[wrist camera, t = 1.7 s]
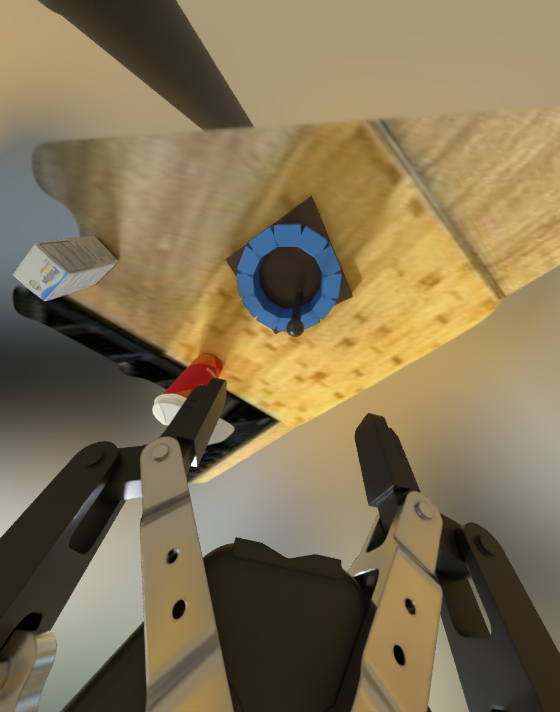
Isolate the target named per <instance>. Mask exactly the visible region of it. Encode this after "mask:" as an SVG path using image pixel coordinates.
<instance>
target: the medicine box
mask: <svg viewBox="0 0 560 712" xmlns="http://www.w3.org/2000/svg"><path fill="white" fill-rule="evenodd" d="M116 263H118V260H117V259H116V258H115V257H114V256H113V255H112V254H111V253H110V252H109V251H108V249H107V248H106V247H105V246H104V245H103V244H102V243H101V242H100V241H99V240H98V239H97V238H96V236H87V237H78V238H68V239H60V240H51V241H42V242H35V243H34V245H33V246H32V247H31V249H30V251H29V252H28V253H27V255H26V256H25V258H24V259H23V260H22V262H21V263H20V265H19V266H18V268H17V269H16V270H15V272H14V273H13V275H14V276H15V277H16V278H17V279H18V280H19V281H20V282H21V283H22V284H24V285H25V286H26V287H27V288H28V289H29V290H31V291H32V292H33V293H34V294H36V295H37V296H38V297H40V298H41V299H42V300H44V301H47V300H51V299H54V298H57V297H60V296H63V295H66V294H69V293H72V292H75V291H78V290H82V289H85V288H88V287H90V286H93V285H95V284H96V283H97V282H98V281H99V280H100V279H101V278H102V277H103V276H104V275H105V274H106V273H107V272H108V271H109V270H110V269H111V268H112V267H113V266H114V265H115V264H116Z"/></svg>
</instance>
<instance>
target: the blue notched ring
mask: <svg viewBox="0 0 560 712" xmlns="http://www.w3.org/2000/svg"><path fill="white" fill-rule="evenodd" d="M276 247H299V248H301V249H302V250H304V251H305V252H307V253H308V254H310V255H311V256H313V257H315V259H316V261H317V263H318V265H319V267H320V270H321V272H322V276H321V287H320V289H319V290H318V292H317V293H316V295H315V296H314V298H313V299H312V301H311V302H309V303H307V304H305V305H303V306H302V318H301V321H302V322H303V324H304V330H305V329H307V328H309V327H311V326H313V325H315V324H318V323H320V318H321V319H322V320H323V319H324V318H325V317H326V315H327V314H328V313H329V311H330V310H331V309H332V307H333V306H334V305H335V303H336V299H335V298H338V297H339V290H340V283H341V276H342V274H341V272H340V270H341V268H340V265H339V263H338V260H337V258H336V255H335V253H334V251H333V248H332V246H331V244H330V243H329V242H328V241H327V239H326V238H325V237H323V236H322V235H320V234H319V233H318V232H316V231H315V230H313V229H312V228H310V227H309V226H307V225H306V226H305V228H304V230H303V232H302V224H277V225H274V226H271V227H268V228H267V229H266V230H264V231H263V232H262V233H260V234H259V235H258V236H256V237H255V238H254V239H252V240H251V241H250V242H249V245H247V246H246V247H245V249H244V252H243V254H242V257H241V260H240V262H239V265H238V267H237V270H239V272H238V273H237V282H238V289H239V296H240V297H243V298H242V300H241V301H242V302H243V304H244V305H245V307H246V308H247V309H248V311H249V312H250V314H251V315H252V317H253V318H254V317H256V316H258V315H259V316H258V318H257V319H256V320H257V321H258V322H260V323H262V324H264V325H266V326H267V327H269V328H271V329H273V330H275V328H276V326H277V331H287V330H286V326H287V323H288V322H289V321H290V320H291V318H292V313H293V308H281V307H279V306H278V305H276V304H274V303H273V302H271V301H269V300H268V298H267V297H266V295H265V294H264V292H263V290H262V289H261V287H260V278H259V268H260V266H261V264H262V262H263V259H264V257H265V255H266V254H268V253H269V252H270V251H272V250H273V249H275V248H276Z"/></svg>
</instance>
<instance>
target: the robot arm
mask: <svg viewBox="0 0 560 712" xmlns="http://www.w3.org/2000/svg"><path fill="white" fill-rule="evenodd" d="M226 384H227V381H226V380H223V379H218V378H214V377H212V378H211V380H210V382H209V383H208V385H207V386H205V385H199V386H198V387H196V388H195V389H193V390H192V391H191V393H190V394H189V396H188V397H187V399H186V400H185V402H184V403H183V405H182V407H181V408H180V409H179V411H178V412H177V414H176V415H175V417H174V418H173V420H172V421H171V423H170V424H169V426H168V427H167V429H166V430H165V432H164V433H163V434H162V435H161V436H160V437H159V438H157V439H155V440H153V441H152V442H150V443H149V444H147V445H143V446H137V447H127V448H117V447H116V445H115V444H113V443H111V442H106V441H103V442H97V443H94V444H91V445H89V446H87V447H85V448H84V449H82V450H81V451H79V452H78V453H77V454H76V455H75V456H74V457H73V458H72V459H71V460H70V462H69V463H68V464H67V465H66V466H65V467H64V468H63V469H62V470H61V472H60V473H59V474H58V475H57V476H56V477H55V478H54V479H53V480H52V481H51V483H50V484H49V485H48V486H47V487H46V488H45V489H44V490H43V491H42V493H41V494H40V495H39V496H38V497H37V498H36V499H35V500H34V501H33V503H32V504H31V505H30V506H29V507H28V508H27V509H26V510H25V511H24V513H23V514H22V515H21V516H20V517H19V518H18V519H17V521H15V522H14V524H13V525H12V526H11V527H10V528H9V529H8V530H7V531H6V533H5V534H4V535H3V536H2V537H1V538H0V712H38V707H39V701H40V696H41V692H42V690H43V687H44V684H45V682H46V679H47V677H48V675H49V673H50V670H51V668H52V666H53V663H54V659H55V655H56V647H57V644H56V639H55V636H54V635H53V633H51V632H50V630H51V628H52V627H53V625H54V623H55V622H56V620H57V618H58V616H59V615H60V613H61V611H62V609H63V608H64V606H65V604H66V603H67V601H68V599H69V598H70V596H71V594H72V592H73V591H74V589H75V587H76V586H77V584H78V582H79V580H80V579H81V577H82V575H83V574H84V572H85V570H86V569H87V567H88V565H89V563H90V562H91V560H92V558H93V556H94V555H95V553H96V551H97V549H98V548H99V546H100V544H101V543H102V541H103V539H104V538H105V536H106V534H107V533H108V531H109V529H110V527H111V526H112V524H113V522H114V521H115V519H116V517H117V515H118V513H119V512H120V510H121V508H122V507H123V505H124V503H125V502H126V500H127V499H132V498H138V497H142V505H143V515H142V518H141V521H140V541H141V542H140V543H141V566H142V590H143V613H144V621H143V622H142V624H141V625H140V626H139V627H138V628H137V629H136V630H135V631H134V632H133V633H132V635H130V637H129V638H128V639H127V640H126V641H125V642H124V643H123V644H122V645H121V646H120V647H119V648H118V650H117V651H116V652H115V653H114V654H113V655H112V656H111V657H110V658H109V660H107V661H106V663H105V664H104V665H103V666H102V667H101V668H100V669H99V670H98V671H97V672H96V673H95V674H94V675H93V677H92V678H91V679H90V680H89V681H88V682H87V683H86V684H85V685H84V687H82V689H81V690H80V691H79V692H78V693H77V694H76V695H75V696H74V697H73V698H72V699H71V701H70V702H69V703H68V704H67V705H66V706H65V707H64V708H63V709H62V710H61V711H60V712H431V710H430V708H429V706H428V701H429V694H430V685H431V679H432V671H433V663H434V657H435V649H436V642H437V634H438V627H439V619H440V614H441V618H442V621H443V625H444V628H445V631H446V635H447V638H448V641H449V645H450V648H451V652H452V655H453V658H454V662H455V665H456V669H457V672H458V675H459V679H460V682H461V685H462V689H463V691H464V695H465V699H466V702H467V706H468V709H469V712H560V653H559V652H558V650H557V648H556V646H555V644H554V642H553V641H552V639H551V637H550V635H549V633H548V631H547V630H546V628H545V626H544V624H543V622H542V620H541V619H540V617H539V615H538V613H537V611H536V609H535V607H534V606H533V604H532V602H531V600H530V598H529V596H528V595H527V593H526V591H525V589H524V587H523V585H522V584H521V582H520V580H519V578H518V576H517V574H516V573H515V571H514V569H513V567H512V565H511V564H510V562H509V560H508V558H507V556H506V554H505V552H504V551H503V549H502V547H501V546H500V544H499V543H498V542H497V540H496V539H495V538H494V537H493V536H492V535H491V534H490V533H489V532H488V531H487V530H486V529H484V528H483V527H481V526H480V525H478V524H475V523H467V524H465V525H460V524H458V523H456V522H455V521H453V520H451V519H450V518H448V517H446V516H444V515H442V514H441V513H439V511H438V509H437V507H436V506H435V505H434V503H433V502H432V501H431V500H430V499H429V498H428V497H426V496H425V495H423V494H422V493H421V492H420V490H419V487H418V484H417V482H416V480H415V477H414V475H413V472H412V470H411V467H410V465H409V462H408V460H407V458H406V455H405V452H404V450H403V449H402V445H401V442H400V440H399V438H398V436H397V435H396V434H395V432H394V431H393V430H392V428H388V426H387V423H386V420H385V418H384V417H383V416H379V415H375V414H370V413H368V414H367V415H366V416H365V417H364V419H363V420H362V422H361V423H360V424H359V426H358V427H357V429H356V431H355V442H356V447H357V452H358V457H359V462H360V466H361V471H362V476H363V481H364V486H365V491H366V496H367V500H368V505H369V506H373V507H378V510H379V514H378V515H377V516H376V518H375V521H374V523H373V525H372V527H371V530H370V532H369V534H368V537H367V539H366V541H365V544H364V546H363V548H362V550H361V552H360V554H359V555H358V557H357V558H356V559H355V560H354V562H353V563H352V565H351V566H350V568H349V570H348V572H346V571H345V570H344V569H342V566H341V560H339V559H335V558H330V557H325V556H321V555H315V554H314V555H308V556H302V557H296V558H286V557H284V556H282V555H281V554H279V553H277V552H276V551H274V550H273V549H271V548H269V547H268V546H266V545H264V544H263V543H260V542H255V541H251V540H246V539H241V538H237V537H236V538H235V542H234V543H231V544H226V545H224V546H220V547H219V548H216V549H215V550H213V551H211V552H210V553H208V554H207V555H206V556H205V557H202V552H201V547H200V542H199V538H198V533H197V528H196V523H195V518H194V513H193V508H192V503H191V498H190V494H189V489H188V484H187V479H186V475H187V473H188V471H189V469H190V466H195V467H197V466H198V464H199V462H200V460H201V457H202V455H203V453H204V451H205V448H206V446H207V444H208V442H209V439H210V437H211V435H212V433H213V430H214V428H215V426H216V424H217V421H218V419H219V417H220V415H221V412H222V410H223V408H224V405H225V400H226ZM471 578H472V580H473V582H474V584H475V587H476V589H477V592H478V594H479V597H480V599H481V601H482V604H483V606H484V608H485V611H486V613H487V616H488V618H489V621H490V624H491V635H490V633H489V631H488V628H487V626H486V623H485V621H484V618H483V616H482V613H481V611H480V609H479V606H478V603H477V601H476V598H475V596H474V593H473V591H472V588H471V586H470V583H469V581H468V579H471Z"/></svg>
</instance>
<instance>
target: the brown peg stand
mask: <svg viewBox="0 0 560 712" xmlns="http://www.w3.org/2000/svg"><path fill="white" fill-rule="evenodd" d="M277 224H302V232H303V230H304V228H305V226H306V225H307V226H309V227H310V228H312V229H313V230H315V231H316V232H318V233H319V234H320V235H322V236H323V237H325V238H326V239H327V241H328V242H329V243H330V244H331V242H330V239H329V237H328V235H327V232H326V230H325V227H324V225H323V222H322V220H321V218H320V215H319V213H318V210H317V208H316V205H315V203H314V200H313V198H312V196H311V197H309V198H308V199H307V200H305V201H304V202H303V203H301V204H300V205H299V206H297V207H296V208H295V209H293V210H292V211H290V212H289V213H288V214H286V215H285V216H284V217H282V218H281V219H280V220H278V221H277V222H276V223H274V224H273V225H272V226H274V225H277ZM270 227H271V226H270ZM247 245H249V243H247V244H246V245H245V246H243V247H242V248H240V249H239V250H238V251H236V252H235V253H234V254H232V255H231V256H230V257H228V258H227V259H226V261H227V263H228V264H229V266H230V267H231V269H232V270H233V272H234V273H235V275H236V276H237V273H238V272H239V270H237V267H238V265H239V262H240V260H241V257H242V254H243V252H244V249H245V247H246V246H247ZM331 246H332V244H331ZM332 248H333V247H332ZM333 251H334V249H333ZM334 253H335V252H334ZM335 255H336V254H335ZM336 258H337V257H336ZM337 260H338V259H337ZM338 263H339V261H338ZM339 265H340V264H339ZM340 268H341V266H340ZM340 272H341V274H342V276H341V283H340V290H339V297H338V298H335V299H336V303H335V305H336V304H338V303H340V302H342V301H344V300H347V299H349V298H351V297H353V296H352V293H351V291H350V288H349V286H348V283H347V281H346V278H345V276H344V274H343V271H342V269H341V270H340ZM321 276H322V272H321V270H320V267H319V265H318V263H317V261H316V259H315V257H313V256H311V255H310V254H308V253H307V252H305V251H304V250H302V249H301V248H299V247H276V248H275V249H273V250H272V251H270V252H269V253H268V254H266V255H265V257H264V259H263V262H262V264H261V266H260V268H259V278H260V287H261V289H262V290H263V292H264V294H265V295H266V297H267V298H268V300H269V301H271V302H273V303H274V304H276V305H278V306H279V307H281V308H293V313H292V318H291V320H290V321H289V322H288V323H287V326H286V330H287V333H288V334H289V335H290V336H292V337H298V336H300V335H301V334H302V333H303V332H304V324H303V322H302V321H301V318H302V306H303V305H305V304H307V303H309V302H311V301H312V299H313V298H314V296H315V295H316V293H317V292H318V290H319V289H320V287H321ZM272 330H273V329H272ZM273 332H274V333H275V334H277V333H279V332H281V331H277V326H276V328H275V330H273Z"/></svg>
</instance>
